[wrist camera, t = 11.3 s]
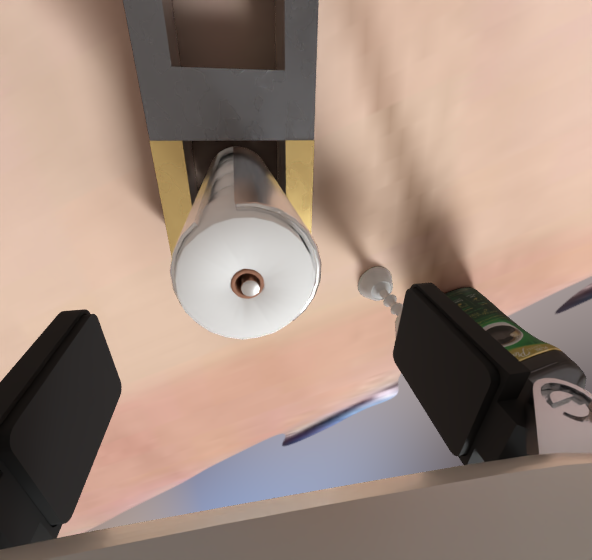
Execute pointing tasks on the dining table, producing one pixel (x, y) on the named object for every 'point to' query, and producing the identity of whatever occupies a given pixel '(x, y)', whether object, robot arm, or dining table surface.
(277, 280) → the silver long cylinder
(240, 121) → the dock
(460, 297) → the coffee jar
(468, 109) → the dining table surface
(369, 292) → the chalice
